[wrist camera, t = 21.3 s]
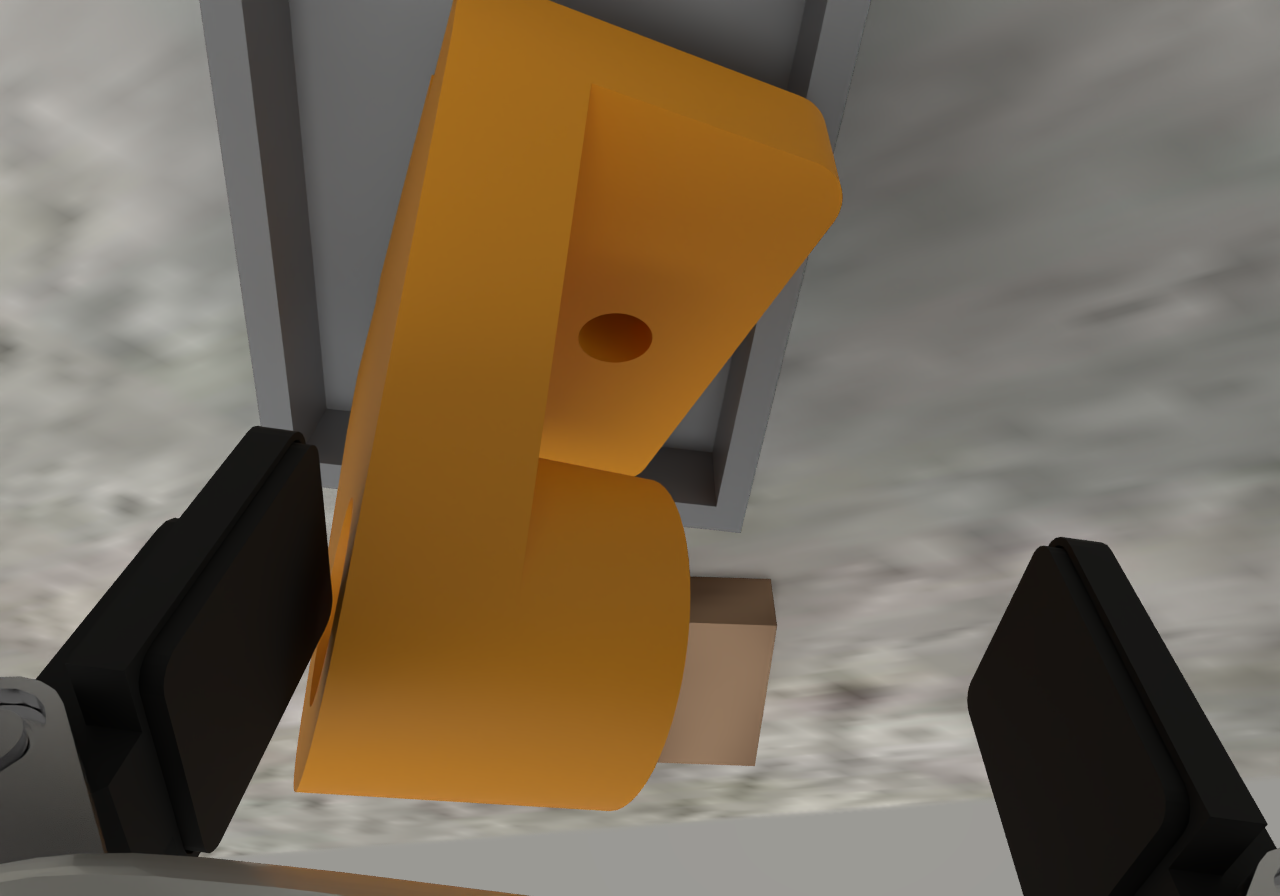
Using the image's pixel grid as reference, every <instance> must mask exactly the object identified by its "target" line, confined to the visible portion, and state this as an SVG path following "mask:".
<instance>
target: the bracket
mask: <svg viewBox="0 0 1280 896" xmlns="http://www.w3.org/2000/svg"><path fill="white" fill-rule="evenodd" d="M841 206H842V189H841V185H840V181H839V177H838V172H837V168H836V164H835V160H834V156H833V152H832V148H831V144H830V140H829V135H828V131H827V127H826V123H825V120H824V117H823V115H822V113H821V112H820V110H819V109H818V108H817V107H816V106H815V105H814V104H813V103H812V102H810V101H809V100H807V99H806V98H804V97H801V96H799V95H796V94H794V93H791V92H788V91H786V90H783V89H781V88H778V87H775V86H773V85H770V84H767V83H765V82H762V81H760V80H757V79H754V78H752V77H749V76H746V75H744V74H741V73H739V72H736V71H733V70H731V69H728V68H725V67H723V66H720V65H718V64H715V63H712V62H710V61H707V60H704V59H702V58H699V57H697V56H694V55H691V54H689V53H686V52H683V51H681V50H678V49H676V48H673V47H670V46H668V45H665V44H662V43H660V42H657V41H655V40H652V39H649V38H647V37H644V36H641V35H639V34H636V33H634V32H631V31H628V30H626V29H623V28H620V27H618V26H615V25H613V24H610V23H607V22H605V21H602V20H599V19H597V18H594V17H592V16H589V15H586V14H584V13H581V12H578V11H576V10H573V9H571V8H568V7H565V6H563V5H560V4H557V3H555V2H552V1H550V0H453V3H452V7H451V11H450V15H449V19H448V23H447V27H446V31H445V35H444V39H443V43H442V46H441V50H440V54H439V58H438V62H437V66H436V70H435V74H434V75H432V76H431V80H430V84H429V88H428V91H427V95H426V99H425V103H424V107H423V111H422V115H421V119H420V123H419V127H418V131H417V135H416V139H415V143H414V147H413V151H412V155H411V158H410V162H409V166H408V170H407V174H406V178H405V182H404V186H403V190H402V194H401V198H400V202H399V206H398V210H397V214H396V218H395V222H394V225H393V229H392V233H391V237H390V241H389V245H388V249H387V253H386V257H385V261H384V265H383V269H382V273H381V277H380V282H379V287H378V293H377V298H376V304H375V308H374V312H373V316H372V320H371V323H370V327H369V331H368V335H367V339H366V343H365V347H364V351H363V355H362V359H361V363H360V366H359V370H358V375H357V380H356V386H355V391H354V397H353V402H352V407H351V413H350V418H349V424H348V429H347V435H346V441H345V447H344V454H343V460H342V466H341V472H340V479H339V485H338V491H337V498H336V504H335V510H334V517H333V523H332V529H331V535H330V542H329V548H328V554H329V564H330V574H331V585H332V595H333V602H332V610H331V615H330V618H329V621H328V624H327V626H326V628H325V630H324V632H323V634H322V636H321V638H320V640H319V642H318V645H317V647H316V649H315V651H314V653H313V655H312V657H311V662H310V668H309V674H308V681H307V687H306V693H305V699H304V706H303V712H302V718H301V725H300V732H299V739H298V746H297V753H296V762H295V772H294V791H295V792H304V793H321V794H337V795H354V796H370V797H387V798H404V799H420V800H437V801H453V802H470V803H486V804H503V805H519V806H536V807H552V808H569V809H585V810H602V811H613V810H618V809H620V808H622V807H624V806H626V805H627V804H628V803H630V802H631V801H632V800H633V799H634V798H635V797H636V796H637V794H638V793H639V792H640V791H641V789H642V788H643V787H644V785H645V784H646V782H647V780H648V779H649V777H650V775H651V773H652V772H653V770H654V768H655V766H656V764H657V761H658V759H659V757H660V755H661V752H662V750H663V747H664V745H665V742H666V740H667V737H668V733H669V730H670V727H671V724H672V721H673V717H674V714H675V710H676V706H677V702H678V698H679V693H680V689H681V684H682V679H683V673H684V667H685V661H686V653H687V645H688V635H689V622H690V571H689V558H688V551H687V543H686V538H685V533H684V528H683V525H682V521H681V518H680V514H679V512H678V509H677V507H676V504H675V502H674V500H673V499H672V497H671V495H670V494H669V492H668V491H667V490H666V488H665V487H663V486H662V485H661V484H660V483H658V482H656V481H654V480H649V479H644V478H639V477H634V476H636V475H638V474H639V473H641V472H642V471H643V470H644V469H645V468H646V466H647V465H648V464H649V462H650V461H651V460H652V459H653V457H654V456H655V455H656V453H657V452H658V451H659V449H660V448H661V447H662V446H663V444H664V443H665V442H666V440H667V439H668V438H669V436H670V435H671V434H672V432H673V431H674V430H675V429H676V427H677V426H678V425H679V423H680V422H681V421H682V419H683V418H684V417H685V416H686V414H687V413H688V412H689V410H690V409H691V408H692V406H693V405H694V404H695V402H696V401H697V400H698V399H699V397H700V396H701V395H702V393H703V392H704V391H705V389H706V388H707V387H708V386H709V384H710V383H711V382H712V380H713V379H714V378H715V376H716V375H717V374H718V372H719V371H720V370H721V369H722V367H723V366H724V365H725V363H726V362H727V361H728V359H729V358H730V357H731V356H732V354H733V353H734V352H735V350H736V349H737V348H738V346H739V345H740V344H741V342H742V341H743V340H744V339H745V337H746V336H747V335H748V333H749V332H750V331H751V329H752V328H753V327H754V325H755V324H756V323H757V322H758V320H759V319H760V318H761V316H762V315H763V314H764V312H765V311H766V310H767V309H768V307H769V306H770V305H771V303H772V302H773V301H774V299H775V298H776V297H777V295H778V294H779V293H780V292H781V290H782V289H783V288H784V286H785V285H786V284H787V282H788V281H789V280H790V279H791V277H792V276H793V275H794V273H795V272H796V271H797V269H798V268H799V267H800V265H801V264H802V263H803V262H804V260H805V259H806V258H807V256H808V255H809V254H810V252H811V251H812V250H813V249H814V247H815V246H816V245H817V243H818V242H819V241H820V239H821V238H822V237H823V235H824V234H825V233H826V232H827V230H828V229H829V228H830V226H831V225H832V224H833V222H834V221H835V219H836V218H837V216H838V214H839V212H840V209H841Z"/></svg>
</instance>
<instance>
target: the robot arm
mask: <svg viewBox="0 0 1280 896" xmlns="http://www.w3.org/2000/svg"><path fill="white" fill-rule="evenodd" d="M332 602H333V595H332V585H331V574H330V564H329V554H328V543H327V533H326V522H325V512H324V502H323V491H322V481H321V471H320V460H319V453H318V449H317V447H316V446H315V445H310V444H306V441H305V438H304V436H303V434H302V433H300V432H298V431H291V430H284V429H277V428H269V427H262V426H255V427H252V428H251V429H250V430H249V431H248V432H247V433H246V435H245V436H244V437H243V438H242V440H241V441H240V442H239V443H238V445H237V446H236V447H235V449H234V450H233V451H232V452H231V454H230V455H229V456H228V457H227V459H226V460H225V461H224V462H223V464H222V465H221V466H220V468H219V469H218V470H217V471H216V473H215V474H214V475H213V476H212V478H211V479H210V480H209V481H208V483H207V484H206V485H205V487H204V488H203V489H202V490H201V492H200V493H199V494H198V495H197V497H196V498H195V499H194V500H193V502H192V503H191V504H190V505H189V507H188V508H187V509H186V511H185V512H184V513H183V514H182V516H181V517H180V518H173V519H170V520H168V521H166V522H165V523H163V524H162V525H161V526H160V527H159V528H158V529H157V530H156V532H155V533H154V534H153V535H152V536H151V538H150V539H149V540H148V541H147V543H146V544H145V545H144V546H143V548H142V549H141V550H140V551H139V553H138V554H137V555H136V556H135V557H134V559H133V560H132V561H131V562H130V564H129V565H128V566H127V567H126V569H125V570H124V571H123V572H122V573H121V575H120V576H119V577H118V578H117V580H116V581H115V582H114V583H113V585H112V586H111V587H110V588H109V590H108V591H107V592H106V593H105V594H104V596H103V597H102V598H101V599H100V601H99V602H98V603H97V604H96V606H95V607H94V608H93V609H92V611H91V612H90V613H89V614H88V615H87V617H86V618H85V619H84V620H83V622H82V623H81V624H80V625H79V627H78V628H77V629H76V630H75V632H74V633H73V634H72V635H71V636H70V638H69V639H68V640H67V641H66V643H65V644H64V645H63V646H62V648H61V649H60V650H59V651H58V652H57V654H56V655H55V656H54V657H53V659H52V660H51V661H50V662H49V664H48V665H47V666H46V667H45V669H44V670H43V671H42V672H41V673H40V675H39V676H38V677H37V678H36V680H34V679H29V678H24V677H0V896H527V895H519V894H511V893H503V892H495V891H486V890H479V889H471V888H463V887H455V886H446V885H439V884H431V883H423V882H416V881H407V880H399V879H392V878H383V877H376V876H368V875H359V874H352V873H344V872H335V871H325V870H316V869H307V868H298V867H289V866H279V865H270V864H261V863H251V862H243V861H233V860H224V859H215V858H206V857H198V856H199V854H200V852H205V853H211V852H213V851H214V850H215V849H216V847H217V846H218V845H219V843H220V841H221V839H222V838H223V836H224V834H225V831H226V829H227V827H228V825H229V823H230V821H231V819H232V817H233V815H234V813H235V811H236V809H237V807H238V805H239V803H240V801H241V799H242V797H243V795H244V793H245V791H246V789H247V787H248V785H249V783H250V781H251V779H252V777H253V775H254V773H255V771H256V768H257V766H258V764H259V762H260V760H261V758H262V756H263V754H264V752H265V750H266V748H267V746H268V744H269V742H270V740H271V738H272V736H273V734H274V732H275V730H276V728H277V726H278V724H279V722H280V720H281V718H282V716H283V714H284V712H285V710H286V708H287V705H288V703H289V701H290V699H291V697H292V695H293V693H294V691H295V689H296V687H297V685H298V683H299V681H300V679H301V677H302V675H303V673H304V671H305V669H306V667H307V665H308V663H309V661H310V659H311V657H312V655H313V653H314V651H315V649H316V647H317V645H318V642H319V640H320V638H321V636H322V634H323V632H324V630H325V628H326V626H327V624H328V621H329V618H330V615H331V610H332ZM967 703H968V711H969V715H970V718H971V721H972V725H973V728H974V732H975V735H976V738H977V742H978V745H979V748H980V752H981V755H982V758H983V762H984V765H985V768H986V772H987V775H988V778H989V782H990V785H991V788H992V792H993V795H994V798H995V802H996V805H997V808H998V812H999V815H1000V818H1001V822H1002V825H1003V828H1004V832H1005V835H1006V838H1007V842H1008V845H1009V848H1010V852H1011V855H1012V858H1013V862H1014V865H1015V869H1016V872H1017V875H1018V879H1019V882H1020V885H1021V889H1022V892H1023V895H1024V896H1280V848H1278V849H1277V848H1276V846H1275V845H1274V843H1273V841H1272V839H1271V837H1270V836H1269V834H1268V832H1267V830H1266V829H1265V827H1266V826H1267V822H1266V821H1265V819H1264V817H1263V815H1262V814H1261V812H1260V810H1259V808H1258V806H1257V805H1256V803H1255V801H1254V799H1253V798H1252V796H1251V794H1250V792H1249V791H1248V789H1247V787H1246V785H1245V784H1244V782H1243V780H1242V778H1241V777H1240V775H1239V773H1238V771H1237V770H1236V768H1235V766H1234V764H1233V763H1232V761H1231V759H1230V757H1229V756H1228V754H1227V752H1226V750H1225V749H1224V747H1223V745H1222V743H1221V742H1220V740H1219V738H1218V736H1217V735H1216V733H1215V731H1214V729H1213V728H1212V726H1211V724H1210V722H1209V721H1208V719H1207V717H1206V715H1205V714H1204V712H1203V710H1202V708H1201V707H1200V705H1199V703H1198V701H1197V700H1196V698H1195V696H1194V694H1193V693H1192V691H1191V689H1190V687H1189V686H1188V684H1187V682H1186V680H1185V679H1184V677H1183V675H1182V673H1181V672H1180V670H1179V668H1178V666H1177V665H1176V663H1175V661H1174V659H1173V658H1172V656H1171V654H1170V652H1169V650H1168V649H1167V647H1166V645H1165V643H1164V642H1163V640H1162V638H1161V636H1160V635H1159V633H1158V631H1157V629H1156V628H1155V626H1154V624H1153V622H1152V621H1151V619H1150V617H1149V615H1148V614H1147V612H1146V610H1145V608H1144V607H1143V605H1142V603H1141V601H1140V600H1139V598H1138V596H1137V594H1136V593H1135V591H1134V589H1133V587H1132V586H1131V584H1130V582H1129V580H1128V579H1127V577H1126V575H1125V573H1124V572H1123V570H1122V568H1121V566H1120V565H1119V563H1118V561H1117V559H1116V558H1115V556H1114V554H1113V552H1112V551H1111V549H1110V548H1109V547H1108V546H1107V545H1106V544H1104V543H1101V542H1094V541H1087V540H1079V539H1072V538H1065V537H1058V538H1055V539H1054V540H1053V541H1051V543H1050V544H1049V546H1040V547H1039V548H1037V549H1036V551H1035V552H1034V554H1033V556H1032V558H1031V560H1030V562H1029V564H1028V566H1027V568H1026V570H1025V572H1024V574H1023V576H1022V578H1021V581H1020V583H1019V585H1018V587H1017V589H1016V591H1015V593H1014V595H1013V597H1012V599H1011V601H1010V603H1009V605H1008V607H1007V609H1006V611H1005V613H1004V615H1003V617H1002V619H1001V621H1000V623H999V626H998V628H997V630H996V632H995V634H994V636H993V638H992V640H991V642H990V644H989V646H988V648H987V650H986V652H985V654H984V656H983V658H982V660H981V662H980V664H979V666H978V668H977V671H976V673H975V675H974V677H973V679H972V681H971V683H970V686H969V690H968V698H967Z"/></svg>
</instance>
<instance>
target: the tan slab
mask: <svg viewBox="0 0 1280 896" xmlns="http://www.w3.org/2000/svg"><path fill="white" fill-rule="evenodd" d="M776 629H777V622H776V615H775V608H774V600H773V593H772V586H771V579H749V578H719V577H690V622H689V635H688V645H687V653H686V661H685V667H684V673H683V679H682V684H681V689H680V693H679V698H678V702H677V706H676V710H675V714H674V717H673V721H672V724H671V727H670V730H669V733H668V737H667V740H666V742H665V745H664V747H663V750H662V752H661V755H660V757H659V759H658V761H657V762H660V763H687V764H715V765H742V766H755V761H756V754H757V748H758V742H759V736H760V729H761V723H762V717H763V710H764V704H765V698H766V692H767V685H768V679H769V673H770V667H771V660H772V654H773V648H774V642H775V635H776Z"/></svg>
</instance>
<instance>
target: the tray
mask: <svg viewBox="0 0 1280 896" xmlns="http://www.w3.org/2000/svg"><path fill="white" fill-rule="evenodd" d="M199 1H200V8H201V15H202V22H203V29H204V36H205V43H206V50H207V57H208V64H209V70H210V77H211V84H212V91H213V98H214V105H215V112H216V119H217V126H218V133H219V140H220V147H221V153H222V160H223V167H224V174H225V181H226V188H227V195H228V202H229V209H230V216H231V223H232V230H233V236H234V243H235V250H236V257H237V264H238V271H239V278H240V285H241V292H242V299H243V306H244V313H245V319H246V326H247V333H248V340H249V347H250V354H251V361H252V368H253V375H254V382H255V389H256V396H257V402H258V409H259V416H260V423H261V426H262V427H269V428H277V429H284V430H291V431H298V432H300V433H302V434H303V436H304V438H305V441H306V444H310V445H315V446H316V447H317V449H318V453H319V460H320V471H321V481H322V487H324V488H333V489H338V485H339V479H340V472H341V466H342V460H343V454H344V447H345V441H346V435H347V429H348V424H349V418H350V413H351V407H352V402H353V397H354V391H355V386H356V380H357V375H358V370H359V366H360V363H361V359H362V355H363V351H364V347H365V343H366V339H367V335H368V331H369V327H370V323H371V320H372V316H373V312H374V308H375V304H376V298H377V293H378V287H379V282H380V277H381V273H382V269H383V265H384V261H385V257H386V253H387V249H388V245H389V241H390V237H391V233H392V229H393V225H394V222H395V218H396V214H397V210H398V206H399V202H400V198H401V194H402V190H403V186H404V182H405V178H406V174H407V170H408V166H409V162H410V158H411V155H412V151H413V147H414V143H415V139H416V135H417V131H418V127H419V123H420V119H421V115H422V111H423V107H424V103H425V99H426V95H427V91H428V88H429V84H430V80H431V76H432V75H434V74H435V70H436V66H437V62H438V58H439V54H440V50H441V46H442V43H443V39H444V35H445V31H446V27H447V23H448V19H449V15H450V11H451V7H452V3H453V0H199ZM550 1H552V2H555V3H557V4H560V5H563V6H565V7H568V8H571V9H573V10H576V11H578V12H581V13H584V14H586V15H589V16H592V17H594V18H597V19H599V20H602V21H605V22H607V23H610V24H613V25H615V26H618V27H620V28H623V29H626V30H628V31H631V32H634V33H636V34H639V35H641V36H644V37H647V38H649V39H652V40H655V41H657V42H660V43H662V44H665V45H668V46H670V47H673V48H676V49H678V50H681V51H683V52H686V53H689V54H691V55H694V56H697V57H699V58H702V59H704V60H707V61H710V62H712V63H715V64H718V65H720V66H723V67H725V68H728V69H731V70H733V71H736V72H739V73H741V74H744V75H746V76H749V77H752V78H754V79H757V80H760V81H762V82H765V83H767V84H770V85H773V86H775V87H778V88H781V89H783V90H786V91H788V92H791V93H794V94H796V95H799V96H801V97H804V98H806V99H807V100H809V101H810V102H812V103H813V104H814V105H815V106H816V107H817V108H818V109H819V110H820V112H821V113H822V115H823V117H824V120H825V123H826V127H827V131H828V135H829V140H830V144H831V148H832V152H833V153H834V149H835V145H836V141H837V137H838V133H839V129H840V125H841V121H842V117H843V113H844V109H845V105H846V100H847V96H848V92H849V88H850V84H851V80H852V76H853V72H854V68H855V64H856V60H857V56H858V51H859V47H860V43H861V39H862V35H863V31H864V27H865V23H866V19H867V15H868V11H869V7H870V3H871V0H550ZM807 260H808V256H807V258H806V259H805V260H804V262H803V263H802V264H801V265H800V267H799V268H798V269H797V271H796V272H795V273H794V275H793V276H792V277H791V279H790V280H789V281H788V282H787V284H786V285H785V286H784V288H783V289H782V290H781V292H780V293H779V294H778V295H777V297H776V298H775V299H774V301H773V302H772V303H771V305H770V306H769V307H768V309H767V310H766V311H765V312H764V314H763V315H762V316H761V318H760V319H759V320H758V322H757V323H756V324H755V325H754V327H753V328H752V329H751V331H750V332H749V333H748V335H747V336H746V337H745V339H744V340H743V341H742V342H741V344H740V345H739V346H738V348H737V349H736V350H735V352H734V353H733V354H732V356H731V357H730V358H729V359H728V361H727V362H726V363H725V365H724V366H723V367H722V369H721V370H720V371H719V372H718V374H717V375H716V376H715V378H714V379H713V380H712V382H711V383H710V384H709V386H708V387H707V388H706V389H705V391H704V392H703V393H702V395H701V396H700V397H699V399H698V400H697V401H696V402H695V404H694V405H693V406H692V408H691V409H690V410H689V412H688V413H687V414H686V416H685V417H684V418H683V419H682V421H681V422H680V423H679V425H678V426H677V427H676V429H675V430H674V431H673V432H672V434H671V435H670V436H669V438H668V439H667V440H666V442H665V443H664V444H663V446H662V447H661V448H660V449H659V451H658V452H657V453H656V455H655V456H654V457H653V459H652V460H651V461H650V462H649V464H648V465H647V466H646V468H645V469H644V470H643V471H642V472H641V473H639V474H638V475H636V476H634V477H639V478H644V479H649V480H654V481H656V482H658V483H660V484H661V485H662V486H663V487H665V488H666V490H667V491H668V492H669V494H670V495H671V497H672V499H673V500H674V502H675V504H676V507H677V509H678V512H679V514H680V518H681V521H682V525H683V527H691V528H700V529H710V530H719V531H728V532H737V533H741V529H742V525H743V521H744V517H745V513H746V508H747V504H748V500H749V496H750V492H751V488H752V484H753V480H754V476H755V472H756V468H757V464H758V459H759V455H760V451H761V447H762V443H763V439H764V435H765V431H766V427H767V423H768V419H769V415H770V411H771V406H772V402H773V398H774V394H775V390H776V386H777V382H778V378H779V374H780V370H781V366H782V362H783V357H784V353H785V349H786V345H787V341H788V337H789V333H790V329H791V325H792V321H793V317H794V313H795V309H796V304H797V300H798V296H799V292H800V288H801V284H802V280H803V276H804V272H805V268H806V264H807Z"/></svg>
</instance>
